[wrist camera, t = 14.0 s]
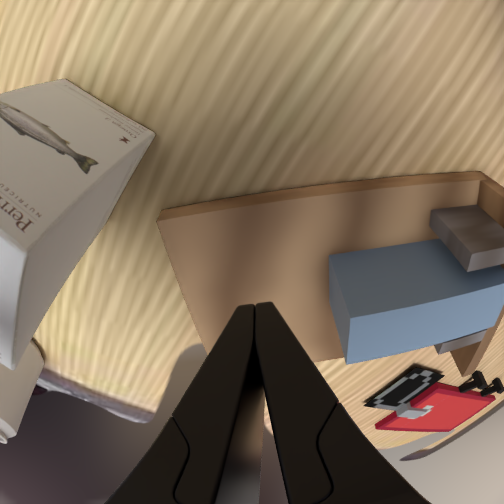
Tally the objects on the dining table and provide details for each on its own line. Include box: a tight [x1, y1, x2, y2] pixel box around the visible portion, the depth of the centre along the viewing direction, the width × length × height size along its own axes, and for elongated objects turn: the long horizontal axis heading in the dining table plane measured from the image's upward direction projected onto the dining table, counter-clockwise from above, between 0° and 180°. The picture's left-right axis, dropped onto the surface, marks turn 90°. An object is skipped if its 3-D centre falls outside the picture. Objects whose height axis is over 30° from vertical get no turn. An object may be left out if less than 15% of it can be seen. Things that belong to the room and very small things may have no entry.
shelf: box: [156, 171, 504, 377], centre depth 20 cm, size 22×15×6 cm
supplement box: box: [0, 79, 155, 370], centre depth 12 cm, size 7×7×13 cm
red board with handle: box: [364, 367, 504, 432], centre depth 35 cm, size 30×3×15 cm
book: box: [329, 238, 504, 365], centre depth 18 cm, size 11×4×6 cm, turn 99°
